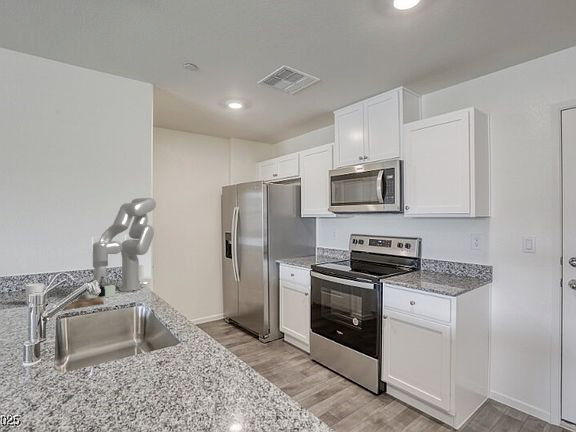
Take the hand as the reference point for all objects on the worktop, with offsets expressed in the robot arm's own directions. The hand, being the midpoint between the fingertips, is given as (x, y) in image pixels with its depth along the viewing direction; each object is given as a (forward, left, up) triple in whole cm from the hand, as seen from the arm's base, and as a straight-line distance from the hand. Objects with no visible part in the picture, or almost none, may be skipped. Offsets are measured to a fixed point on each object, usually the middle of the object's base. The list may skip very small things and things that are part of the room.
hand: (100, 295), depth 181 cm
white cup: (+29, -9, -1) cm, 30 cm away
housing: (0, 0, -1) cm, 1 cm away
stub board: (+12, +13, -1) cm, 18 cm away
